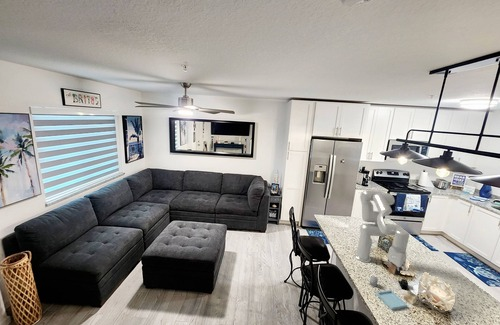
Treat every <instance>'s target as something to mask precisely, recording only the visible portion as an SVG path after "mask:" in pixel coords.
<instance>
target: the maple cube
mask: <svg viewBox="0 0 500 325" xmlns="http://www.w3.org/2000/svg"><path fill="white" fill-rule="evenodd" d="M410 291H411V290H410ZM410 291H406V292H405V293H404V295H403V300H404V302H407V303H408V304H409V305H410V306H411V305H414V304H416V303H417V299H418V295H417V294H415V293H414V292H412V291H411V292H410Z"/></svg>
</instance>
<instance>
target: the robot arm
mask: <svg viewBox="0 0 500 325" xmlns="http://www.w3.org/2000/svg"><path fill="white" fill-rule="evenodd" d="M359 196H360V197H359V198H360V199H359V200H360V202H361V216H362V221H363V222H366V223H362V224H360V227H359V232H360V234H359V239H358V240H359V241H358V246H357V247H355V248H354V251H355V253H354V257H355V258H356V259H357V260H358V261H361V262H363V263H369V262H371V260H372V258H371V257H370V256H371V249H372V246H373V239H372V238H371V237H383V235H384V236H392V237H393V236H394V237H393V240H392V242H391V244H392V245H390V247H389V249H388V252H387V255H386V256H385V257H386V260H387V261H388V265H389V264H390V263H393V264H395V265H396V266H397V269H396V272H395V275H394V276H399V275H401V271H407V266H406V263H407V248H408V242H409V238H410V233H409V232H408V231H407V230H405V229H404V228H403V226H402V225H400V224H393V223H392V224H391V223H386V221H385V220H384V219H385V218H384V217H386V216H389V215H390V214H392V212H393V210H392V208H391V206H392V205H394V204H395V197H394V196H393V195H392V193H388V192H385V191H380V190H362V191H361V193H360V195H359ZM372 202H374V204H375V206H376V208H377V210H376V211H375V210H374V204H373V203H372ZM399 267H400V268H399ZM387 269H389V267H388V268H387Z"/></svg>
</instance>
